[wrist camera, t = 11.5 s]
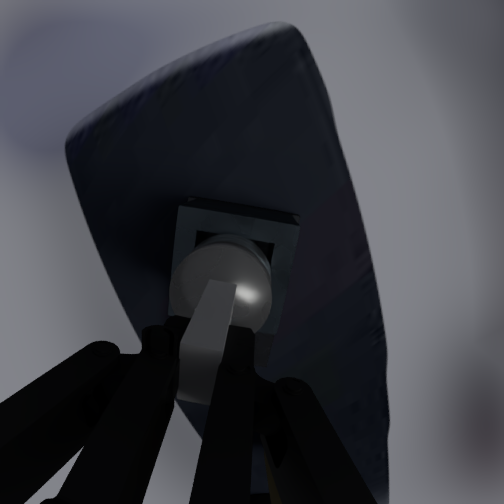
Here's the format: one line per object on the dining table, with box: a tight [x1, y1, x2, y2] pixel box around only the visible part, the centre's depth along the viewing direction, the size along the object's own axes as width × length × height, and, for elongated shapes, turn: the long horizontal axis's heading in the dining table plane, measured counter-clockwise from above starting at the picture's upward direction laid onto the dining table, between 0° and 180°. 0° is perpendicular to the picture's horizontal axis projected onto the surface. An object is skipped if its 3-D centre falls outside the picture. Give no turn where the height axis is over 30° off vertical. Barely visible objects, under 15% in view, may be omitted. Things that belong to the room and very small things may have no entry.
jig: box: [168, 196, 300, 367], centre depth 26 cm, size 16×10×7 cm, turn 170°
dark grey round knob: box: [169, 234, 272, 333], centre depth 22 cm, size 6×6×10 cm
